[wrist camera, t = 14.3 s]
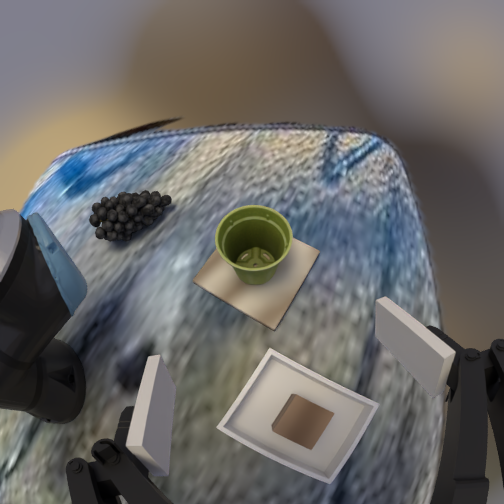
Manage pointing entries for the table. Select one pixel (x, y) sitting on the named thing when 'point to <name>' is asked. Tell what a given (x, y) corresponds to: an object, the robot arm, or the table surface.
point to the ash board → (259, 296)
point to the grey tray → (271, 403)
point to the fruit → (126, 214)
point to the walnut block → (302, 421)
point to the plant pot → (253, 242)
